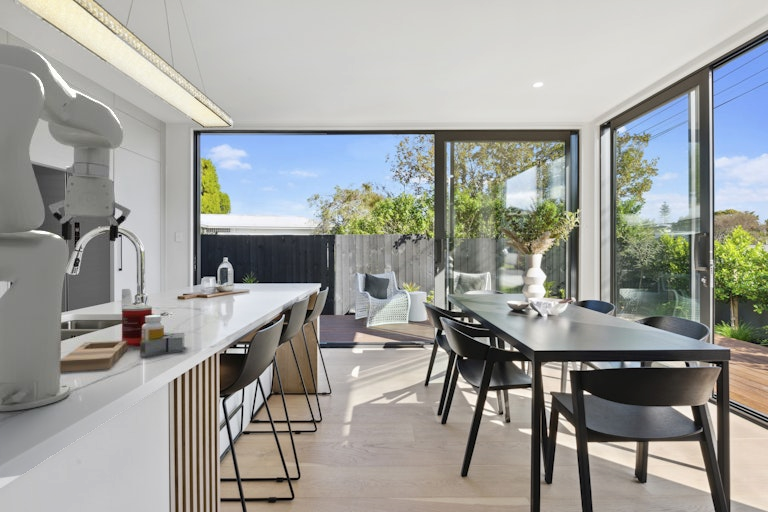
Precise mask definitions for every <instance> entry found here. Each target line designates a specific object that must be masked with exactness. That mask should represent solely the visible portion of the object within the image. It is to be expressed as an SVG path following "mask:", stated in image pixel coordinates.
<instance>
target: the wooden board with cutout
mask: <svg viewBox="0 0 768 512" xmlns="http://www.w3.org/2000/svg"><path fill="white" fill-rule="evenodd" d="M127 350H128V346H127V341H122V340H113V341H111V340H110V341H89V342H84V343H82V344H81V345H80V346H78V347H77V348H75V349H74V350H72V351H71V352H69V353H68V354H67V355H66V356H64V357H63V358H62V357H61V364H60V373H63V372H79V371H93V370H95V371H96V370H110V369H111V368H112V366H114V364H116V362H117V361H118V360H119V359H120V358H122V356H123V355H124V353H126V351H127Z"/></svg>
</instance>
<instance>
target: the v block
mask: <svg viewBox="0 0 768 512" xmlns="http://www.w3.org/2000/svg"><path fill="white" fill-rule="evenodd" d="M185 334H186V333H185V332H171V333H170V332H169V333H168V332H164V337H160V338H155V339H150V340H145V341H140V347H139V357H140V358H148V357H153V356H158V355H161V354H167V353H183V351H184V348H185V338H186V337H185Z"/></svg>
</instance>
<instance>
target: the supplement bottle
mask: <svg viewBox="0 0 768 512" xmlns="http://www.w3.org/2000/svg"><path fill="white" fill-rule="evenodd" d="M145 322H146V324H144V325H143V326H142V341H145V340H150V339H155V338H160V337H164V333H165V330H164V329H165V325H164V324H163V323H162V315H159V314H152V315H149V316H145Z"/></svg>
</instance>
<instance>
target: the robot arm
mask: <svg viewBox="0 0 768 512" xmlns="http://www.w3.org/2000/svg"><path fill="white" fill-rule="evenodd" d="M39 119H41V120H42V121H45V122H47V127H48V128H47V129H48V131H49V133H50V135H51V137H52V138H53V139H54V140H55V141H56V142H57V143H59V144H61V145H63V146H68V147H72V148H73V163H72V165H71V166H66V169H65V170H66V172H67V173H71V174H72V175H70V176H68V179H67V183H66V188H65V196H64V199H62V200H60V201H58V202H55V203H54V202H53V203H52V204H49V205H48V209H49V210H50V212H51V213H52V215H53V217H54V218H55V219H56V220H57V221H58V222H59V223H60V224H61V236H62V237H61V236H60V235H58V234H55V233H54V232H53V233H52V232H50V231H45V230H37V229H38V228H40V227H41V226H42V225H43V223H44V221H45V219H46V218H45V217H46V211H45V210H46V209H45V205H44V201H43V197H42V194H41V191H40V188H39V184H38V180H37V177H36V175H35V172H34V168H33V164H32V161H31V156H30V147H31V146H30V145H31V142H32V139H33V136H34V133H35V130H36V128H37V125H38V123H39V121H40V120H39ZM123 140H124V131H123V128H122V124H121V123H120V121H119V119H118V118H117V116H116V115H115V113H114V112H113V111H112V109H110V108H109V107H108V106H106V104H103V103H102V102H100V101H98V100H96V99H93V98H91V97H89V96H87V95H85V94H83V93H82V92H79V91H77V90H75V89H72V88H70V87H69V85H68V84H67V83H66V82H65V80H63V79H62V77H61V76H60V75H59V73H57V71H56V70H55V69H54V67H52V65H51V64H50V63H49V61H47V59H45V58H44V56H43V55H41V54H40V53H38V52H37V51H35V50H33V49H31V48H28V47H23V46H19V45H15V44H14V45H12V44H6V43H5V44H4V43H0V282H5V283H12V284H11V285H10V286H9V288H8V289H7V290H6V291H5V292H4V293H3V295H1V297H0V412H15V411H20V410H21V411H22V410H27V409H33V408H37V407H44V406H46V405H50V404H53V403H56V402H58V401H61V400H63V399H65V398H66V397H68V395H70V393H71V387H70V386H69V385H68V384H65V383H61V372H60V364H61V359H62V357H61V354H62V351H61V350H62V347H61V346H62V306H63V305H62V304H63V303H62V302H63V300H62V299H63V287H64V280H65V277H66V276H65V275H66V273H67V272H66V271H67V267H68V261H69V256H70V254H69V253H70V250H69V245H68V243H67V242H66V241H71V240H72V238H73V237H72V234H73V233H72V232H73V231H72V230H73V228H72V224H71V222H72V221H73V220H74V219H75V218H86V219H87V218H90V219H91V218H92V219H107V221H109V223H110V224H111V225H109V241H110V242H116V239H118V238H119V226H121V224H122V223H124V222H126V220H127V218H128V217H129V215H130V213H131V209H129V208H127V207H125V206H124V205H122V204H119V203H118V202H116V198H115V197H116V195H115V188H114V184H113V180H112V179H111V178H110V169H111V168H110V164H111V163H110V159H111V157H110V156H111V150H113V149H117V148H119V147H120V146H121V145H122V143H123ZM61 208H63V209H64V214H65V215H63V214H62V213H61V212H60V210H59V209H61ZM116 209H117V210H119V211H121V212H122V213H121V215H120V216H119V217H117V218H116V217H115V215H116Z"/></svg>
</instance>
